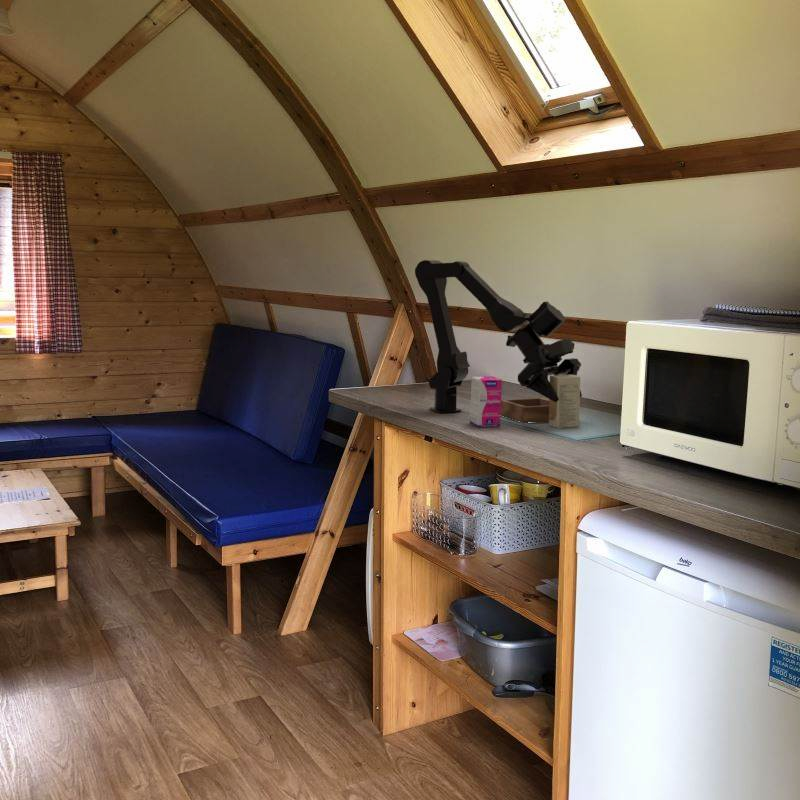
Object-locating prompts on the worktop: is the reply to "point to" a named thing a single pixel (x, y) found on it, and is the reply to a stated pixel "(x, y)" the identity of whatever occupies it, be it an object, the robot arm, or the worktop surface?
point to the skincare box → (565, 401)
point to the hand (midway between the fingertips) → (569, 399)
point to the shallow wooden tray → (526, 409)
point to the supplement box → (485, 401)
